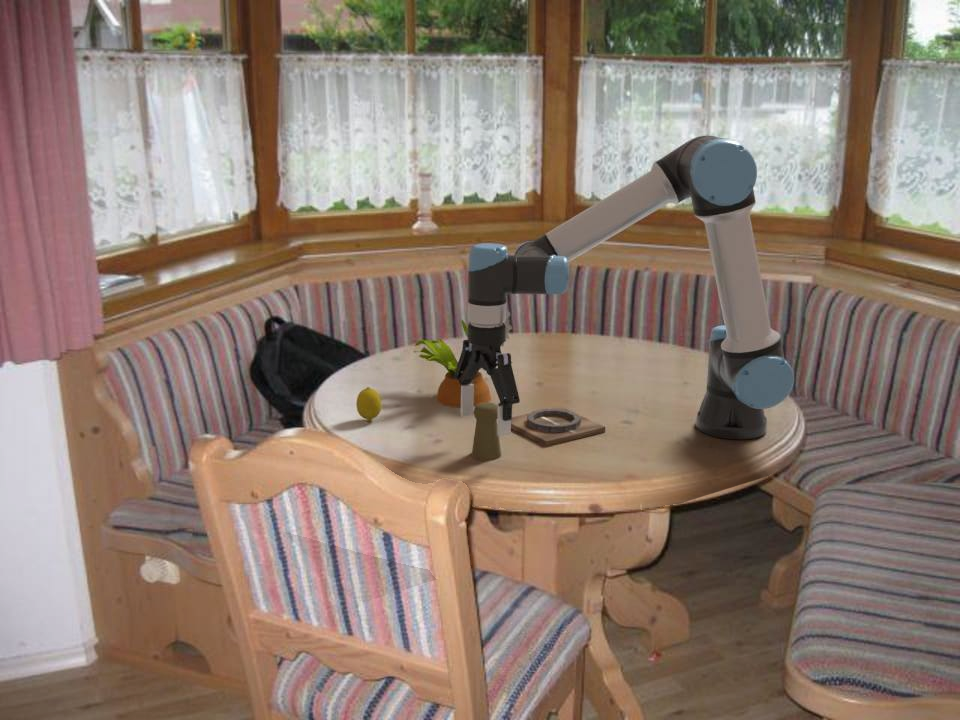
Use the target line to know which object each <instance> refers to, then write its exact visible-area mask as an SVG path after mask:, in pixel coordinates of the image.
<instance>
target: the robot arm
mask: <svg viewBox="0 0 960 720" xmlns="http://www.w3.org/2000/svg"><path fill="white" fill-rule="evenodd" d="M756 164H757V163H756V160H755V158H754V156H753V154H752V153H751V152H750V151H749V150H748V149H747V148H746V147H745V146H744V145H742V144H741V143H739V142H738V141H736V140H734V139H730V138H727V137H726V138H725V137H718V136H713V135H701V136H697V137H696V136H695V137H694V138H691V139H689V140H687V141H686V142H685V143H683V144H681V145H680V146H678V147H676V148H675V149H674V150H672V151H671V152H669V153H668V154H666V155H664V156H663V157H662V158H659V160H657V161H655V162H654V163H652V166H651V169H650V171H648V172H647V173H644V174H643V175H641V176H639V177H638V178H636V179H635V180H633V181H631V182H630V183H628V184H626V185H625V186H623V187H621V188H619V189H618V190H616V191H614V192H613V193H611V194H610V195H608V196H606V197H604V198H603V199H601V200H598V202H596V203H595V204H593V205H591V206H590V207H587V208H586V209H584V210H583V211H581V212H580V213H578V214H577V215H575V216H573V217H570V219H567V220H566V221H564V222H563V223H561V224H560V225H558V226H555V227H554V228H553V229H551V230H550V231H548V232H546V233H545V234H543V235H541V236H539V237H537V238H536V239H535V240H533V241H532V240H531V241H530V240H529V241H524V242H522V243H521V244H519V246H518V247H516V249H515V251H514V254H513V255H512V254H509V249H508V247H507V246H506V245H504V244H501V243H491V242H490V243H489V242H487V243H477V244H474V245H472V247H470V249H469V253H468V254H469V255H468V267H467V268H468V270H467V272H468V273H467V275H468V276H467V277H468V281H467V282H468V283H467V284H468V285H467V289H468V293H467V294H468V295H467V297H468V299H467V321H468V322H469V323H468V324H467V328H468V337H467V339H464V340H462V350H461V352H460V357H459V360H458V365H457V368H456V371H455V374H454V378H455V379H458V380H459V384H460V385H461V407H460V416H461V417H467V416H473V415H474V408H475V407H474V384H469V383H472V382H474V380H473V379H474V377H475V376H476V374H477V372H480V371H479V370H481V369H482V370H483V371H486V374H487V375H488V376H490V379H491V382H492V384H493V386H494V389H495V391H496V394H497V397H498V400H499V403H498V404H497V406H498V419H497V436H499V437H504V436H507V435H508V436H509V435H511V433H512V432H511V430H512V429H511V419H512V417H513V416H512V415H513V405H515V404H519V403H520V401H521V399H520V395H519V391H518V388H517V382H516V378H515V375H514V374H515V373H514V371H513V366H512V363H511V362H512V354H511V353H509V352H508V353H507V352H506V353H502V351H501V347H502V346H501V345H502V344H505V340H506V341H507V339H506V325H505V324H504V322H505V321H506V311H507V296H508V295H509V294H511V295H512V294H513V295H548V296H552V295H563V294H565V293H566V292H567V291H568V289H569V284H570V262H571V261H573V260H574V259H577V258H578V257H580V256H581V255H583V254H585V253H587V252H588V251H590V250H592V249H594V248H595V247H597V246H598V245H600V244H601V243H604V242H605V241H607V240H608V239H610V238H612V237H613V236H616V235H617V234H618V233H620V232H623V231H624V230H625V229H627V228H629V227H631V226H633V225H634V224H636V223H637V222H639V221H641V220H643V219H645V218H646V217H648V216H650V215H651V214H654V212H657V211H658V210H660V209H661V208H663V207H665V206H667V205H668V204H673V205H678V204H679V203H681V202H684V200H687V199H689V198H691V199H690V200H691V204H692V208H693V215H694V217H695V218H697V219H699V220H700V221H702V222H703V223H704V228H705V232H706V233H705V234H706V237H707V243H708V249H709V253H710V258H711V262H712V263H711V264H712V268H713V272H714V278H715V284H716V288H717V293H718V297H719V303H720V307H721V312H722V318H723V322H724V325H718V326H715V327H713V328H712V329H711V332H710V335H709V336H710V338H709V340H708V344H709V347H708V364H707V375H706V377H707V378H706V391H705V394H704V396H703V399H702V401H701V405H700V407H699V410H698V411H697V412H696V419H695V420H696V421H695V427H696V428H697V430H699V431H700V432H702V433H704V434H706V435H709V436H711V437H712V436H713V437H714V438H715V437H716V438H719V439H727V440H728V439H729V440H749V439H750V440H752V439H757V438H759V437H762V436H764V435H765V434H766V433H767V429H768V419H767V417H766V415H765V411H764V410H765V409H766V410H767V409H771V408H773V407H776V406H778V405H779V404H781V403H782V402H784V401H785V400H786V399H787V397H789V394H791V392H792V389H793V387H794V384H795V383H794V382H795V373H794V370H793V368H792V366H791V364H790V363H789V362H788V360H786V359H785V355H784V349H783V345H782V344H783V343H782V339H781V334H780V333H779V332H777V331H776V330H774V329H773V328H772V327H771V322H770V318H769V317H770V316H769V311H768V307H767V302H766V295H765V291H764V285H763V280H762V275H761V274H762V273H761V269H760V264H759V258H758V252H757V248H756V243H755V242H756V241H755V236H754V232H753V225H752V220H751V215H750V213H751V211H752V209H753V208H754V206H755V205H756V203H757V202H756V196H755V190H754V187H755V185H756V183H757V182H756V181H757V177H758V169H757V165H756ZM480 368H481V369H480ZM462 371H463V372H462ZM461 372H462V373H461Z"/></svg>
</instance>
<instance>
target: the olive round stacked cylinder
mask: <svg viewBox="0 0 960 720" xmlns="http://www.w3.org/2000/svg"><path fill="white" fill-rule="evenodd" d="M473 417H474V418H475V419H476V421H475V427H474V428H475V429H474V434H473V435H474V437H473V444H472V448H471V449H472V451H471V457H473V459H476V460H481V461H492V460H493V461H494V460H497V459H499V458H500V457H502V449H501V444H500V436H497V421H498V404H496V403H494V402H491V401H489V402H482V403H479V404H477V405H476V406H475V407H474V414H473Z"/></svg>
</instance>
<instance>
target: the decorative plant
mask: <svg viewBox="0 0 960 720" xmlns="http://www.w3.org/2000/svg"><path fill="white" fill-rule="evenodd" d="M510 316H511V312H510V311H507V310H506V321H505V322H504V324H505V325H506V340H505V342H507V340H508V339H510V336H509V334H508V333H510V330H513V327H512V325H511V324H510V320H509V319H508V318H509V317H510ZM461 327H462V329H463V331H464V333H465V335H466V337H467V338H468V325H467V324H466V323H465V321H464V320H463V319H461ZM505 342H504V343H503V344H502V345H501V347H504V344H505ZM420 345H425V346H427V348H426V347H425V346H423V348H422V349H421V350H419V351H418V350H413V354H415V353H420V354H419V356H418V358H422V359H425V360H426V361H429V362H436V363H438V364H440V365H441V366H444V368H445V369H446V370H447V372H446V373H445V375H444V379H443V380H442V381H441V383H440V384H439V386H438V389H437V395H436V397H435V398H436V402H437V403H439V404H441V405H442V406H443V405H444V406H447V407H451V408H461V385H460V384H459V380H458V379H455V378H454V374H455V371H456V368H457V365H458V362H459V360H457V358H456V356H455V355H454V352H453V350H452V349H451V347H450V345H448V344H446V343H445V342H444V341H443V339H440V338H439V339H435V340H433V339H432V338H430V340H426V339H420V340H417V341H416V342H415V344H414V347H417V346H420ZM423 353H424V354H423ZM511 364H513V362H512V361H511ZM481 369H482V368H480V369H479V370H481ZM462 372H463V371H462ZM462 372H461V373H462ZM473 380H474V382H472V383H469V384H474V408H475V406H476V405H477V404H479V403H482V402H491V401H492V396H491V393H490V388H489V386H488V383H487V382H486V380H485V379H484V378H483V374H482V372H480V371H478V372H477V374H476V376H475V377H474V379H473Z"/></svg>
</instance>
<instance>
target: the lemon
mask: <svg viewBox="0 0 960 720" xmlns="http://www.w3.org/2000/svg"><path fill="white" fill-rule="evenodd" d="M356 409H357V410H356V411H357V413H358V414H359V416H360V417H361V418H362V419H365V420H367V422H371V421H372V420H373V419H375V418H376V417H378V416H379V414H380V413H381V410H382V399H381V396H380V394H379V392H378V391H377V390H376V389H374V388H372V387H370V386H367V387H366V388H364V389H362V390H361V391H359V393H358V395H357V398H356Z"/></svg>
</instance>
